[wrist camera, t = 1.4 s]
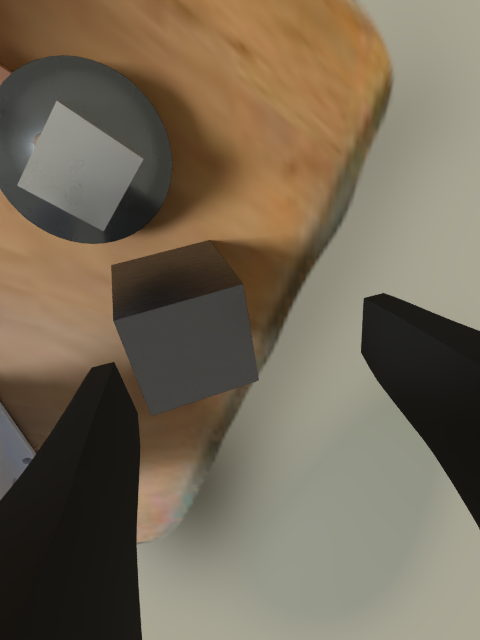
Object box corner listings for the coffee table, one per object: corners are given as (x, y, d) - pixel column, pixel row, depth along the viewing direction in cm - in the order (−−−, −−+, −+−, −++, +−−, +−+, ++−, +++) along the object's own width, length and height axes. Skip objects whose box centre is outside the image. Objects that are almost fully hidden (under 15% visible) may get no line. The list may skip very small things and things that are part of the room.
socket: (226, 321, 23) (258, 380, 18) (141, 346, 22) (151, 416, 18) (209, 240, 21) (243, 284, 16) (111, 265, 20) (113, 320, 15)
